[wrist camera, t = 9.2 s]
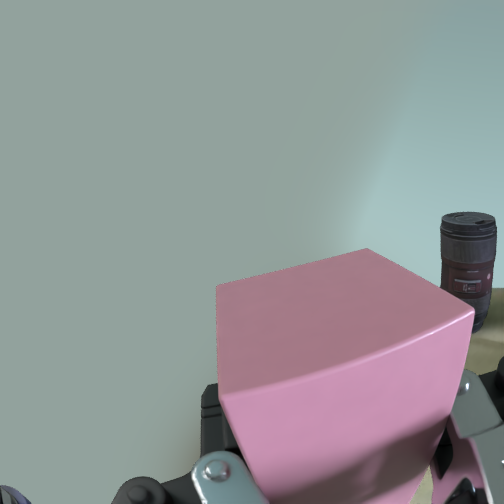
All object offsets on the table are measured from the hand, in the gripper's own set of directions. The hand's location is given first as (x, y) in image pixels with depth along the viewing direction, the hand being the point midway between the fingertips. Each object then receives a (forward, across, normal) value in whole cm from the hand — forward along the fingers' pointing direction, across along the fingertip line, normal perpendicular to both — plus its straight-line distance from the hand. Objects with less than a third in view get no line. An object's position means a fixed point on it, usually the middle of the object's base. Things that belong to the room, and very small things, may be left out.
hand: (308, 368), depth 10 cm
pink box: (-3, 0, +6) cm, 7 cm away
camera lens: (+18, -27, +17) cm, 37 cm away
